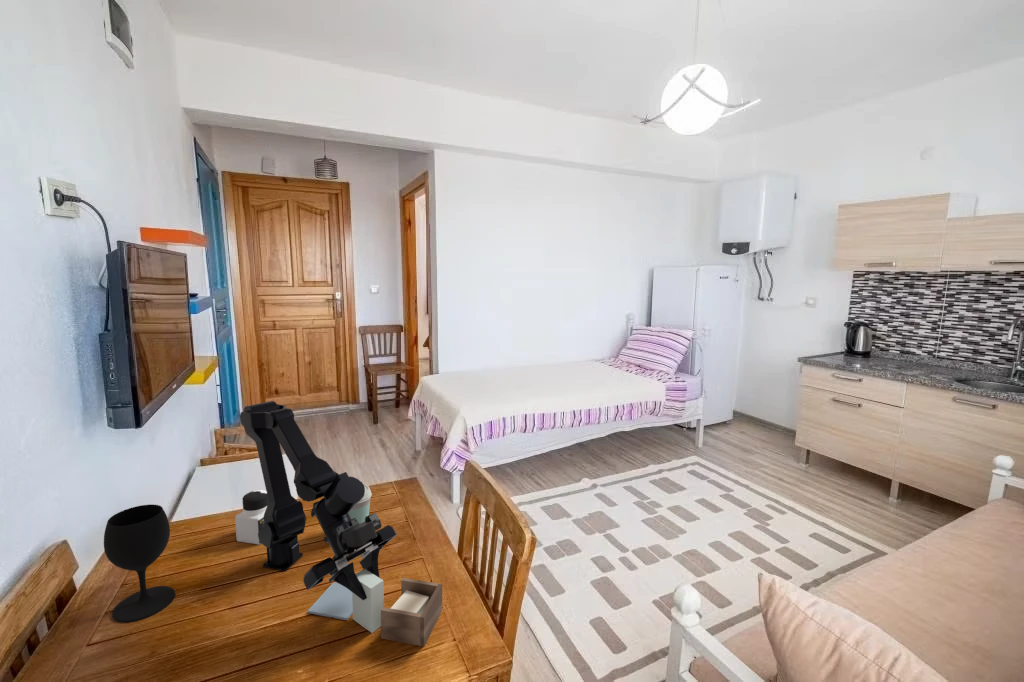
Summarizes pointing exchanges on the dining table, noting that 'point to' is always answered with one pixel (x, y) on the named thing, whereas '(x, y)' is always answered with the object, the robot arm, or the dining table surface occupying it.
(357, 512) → the coffee cup
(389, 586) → the dining table surface
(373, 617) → the pale grey rectangular block
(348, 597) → the mat
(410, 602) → the offcut stack
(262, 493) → the medicine bottle
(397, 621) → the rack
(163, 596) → the wine glass
